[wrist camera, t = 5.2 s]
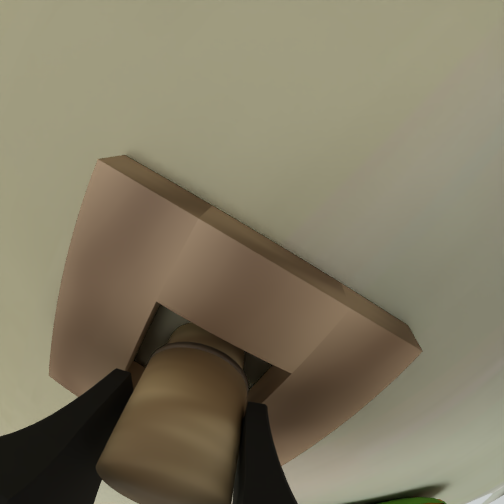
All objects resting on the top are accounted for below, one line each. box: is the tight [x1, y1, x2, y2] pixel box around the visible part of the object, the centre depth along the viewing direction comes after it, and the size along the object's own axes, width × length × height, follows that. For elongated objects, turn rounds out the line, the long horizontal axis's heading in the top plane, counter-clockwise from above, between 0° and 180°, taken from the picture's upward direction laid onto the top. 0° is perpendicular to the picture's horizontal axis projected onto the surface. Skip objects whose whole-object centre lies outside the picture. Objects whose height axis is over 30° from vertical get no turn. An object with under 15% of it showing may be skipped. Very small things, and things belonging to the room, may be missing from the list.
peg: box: [96, 323, 248, 504], centre depth 9 cm, size 4×4×7 cm
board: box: [49, 155, 422, 466], centre depth 12 cm, size 13×12×2 cm
